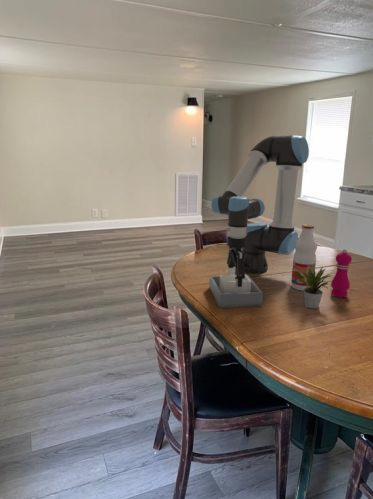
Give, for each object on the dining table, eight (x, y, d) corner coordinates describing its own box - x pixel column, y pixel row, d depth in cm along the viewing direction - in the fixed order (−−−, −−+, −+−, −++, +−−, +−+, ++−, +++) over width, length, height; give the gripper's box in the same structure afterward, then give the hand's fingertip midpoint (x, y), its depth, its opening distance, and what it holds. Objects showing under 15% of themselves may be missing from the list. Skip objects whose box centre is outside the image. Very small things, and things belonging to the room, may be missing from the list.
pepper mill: (340, 299, 152) (346, 252, 147) (326, 293, 159) (331, 247, 153) (352, 296, 156) (358, 250, 150) (338, 290, 162) (343, 246, 157)
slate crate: (247, 286, 165) (247, 274, 164) (262, 306, 145) (263, 292, 144) (209, 288, 163) (209, 276, 162) (219, 308, 143) (219, 294, 142)
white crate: (244, 290, 158) (245, 274, 156) (250, 297, 151) (251, 281, 149) (219, 291, 157) (219, 275, 155) (223, 298, 149) (224, 282, 147)
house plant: (326, 318, 135) (331, 275, 131) (288, 309, 142) (292, 268, 138) (334, 305, 147) (339, 265, 143) (299, 297, 154) (303, 259, 150)
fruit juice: (315, 291, 161) (323, 227, 153) (294, 291, 161) (300, 227, 153) (309, 283, 170) (315, 223, 162) (288, 283, 170) (293, 222, 162)
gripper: (221, 229, 158) (219, 278, 164) (235, 244, 135) (232, 299, 141) (238, 229, 159) (236, 277, 165) (255, 243, 136) (252, 299, 142)
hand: (234, 287), depth 153 cm, fingers open, 12 cm apart
